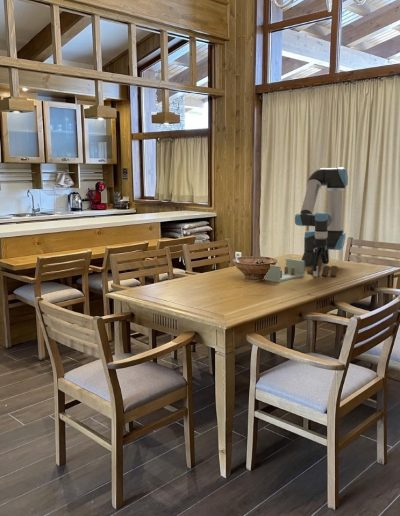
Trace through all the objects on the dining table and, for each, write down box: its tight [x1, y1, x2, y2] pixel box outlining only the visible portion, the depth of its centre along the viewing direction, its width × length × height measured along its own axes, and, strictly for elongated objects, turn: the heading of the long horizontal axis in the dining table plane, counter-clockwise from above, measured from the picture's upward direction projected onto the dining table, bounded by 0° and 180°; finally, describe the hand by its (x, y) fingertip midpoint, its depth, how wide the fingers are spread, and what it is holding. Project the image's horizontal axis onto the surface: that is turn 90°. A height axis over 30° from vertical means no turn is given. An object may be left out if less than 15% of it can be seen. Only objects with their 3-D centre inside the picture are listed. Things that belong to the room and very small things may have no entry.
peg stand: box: [263, 257, 306, 283], centre depth 294 cm, size 25×13×9 cm, turn 133°
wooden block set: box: [306, 259, 339, 277], centre depth 299 cm, size 18×9×10 cm, turn 60°
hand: (319, 275), depth 298 cm, fingers closed on wooden block set, 8 cm apart
